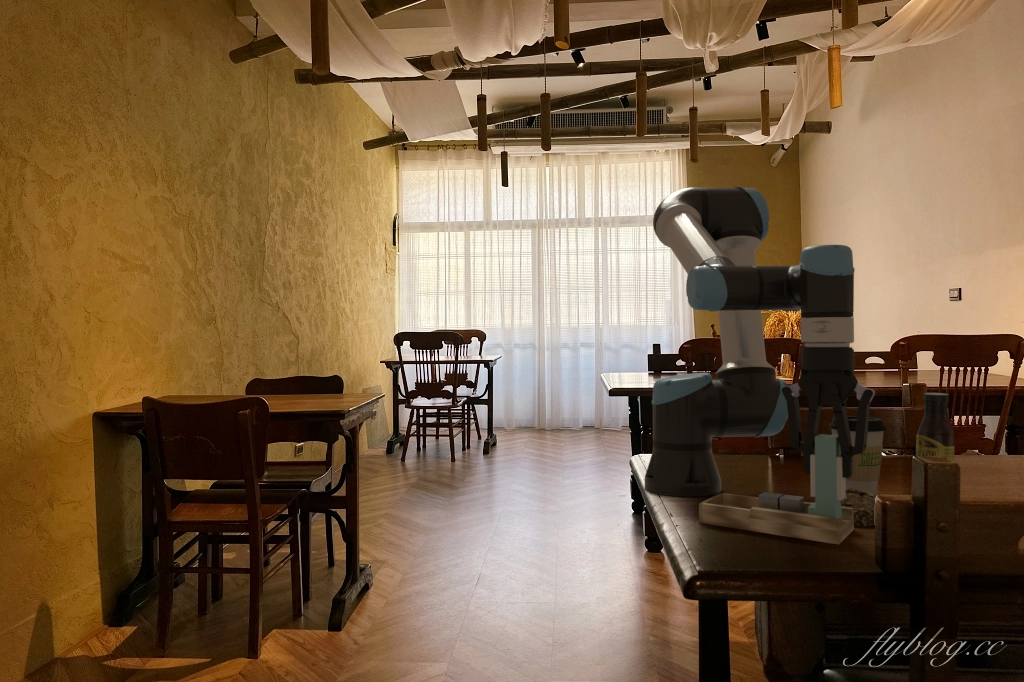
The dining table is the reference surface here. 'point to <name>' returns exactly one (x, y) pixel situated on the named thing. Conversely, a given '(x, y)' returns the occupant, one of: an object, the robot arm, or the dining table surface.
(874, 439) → the coffee cup
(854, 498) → the bread roll
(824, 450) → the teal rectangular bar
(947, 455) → the sauce bottle
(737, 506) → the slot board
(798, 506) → the chip
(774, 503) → the chip
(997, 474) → the dining table surface
